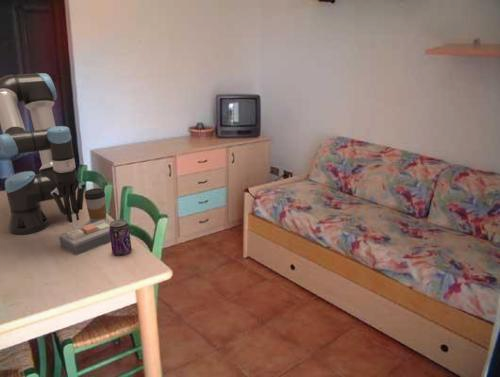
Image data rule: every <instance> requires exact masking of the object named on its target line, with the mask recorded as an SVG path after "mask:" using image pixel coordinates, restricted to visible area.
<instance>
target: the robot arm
mask: <svg viewBox="0 0 500 377" xmlns="http://www.w3.org/2000/svg"><path fill="white" fill-rule="evenodd" d="M57 99H58V96H57V90H56V87H55V85H54V81H53V80H52V77H51V76H50V75H49V74H47V73H42V72H41V73H39V72H35V73H22V74H19V73H18V74H8V75H4V76H2V77H1V78H0V127H1V130H2V133H3V134H0V150H1V154H2V155H4V156H11V155H14V156H17V155H21V154H27V153H35V152H38V153H39V158H40V161H41V166H40V168H39V169H38V170H39V173H37V174H36V173H35V172H34V171H32V170H30V171H29V170H27V171H26V170H25V171H20V172H17V173H15V174H12V175H10V176H9V177H7V178H6V179H5V181H4V188H5V193H6V196H7V202H8V207H9V211H10V215H9V216H10V217H9V220H8V221H9V222H8V229H9V232H10V233H11V234H13V235H28V234H29V235H30V234H34V233H38V232H40V231H43V230H45V229H46V228H47V227H49V224H50V222H49V219H48V217H47V215H46V214H45V212H44V210H43V208H42V204H41V203H43V202H47V201H53V200H54V201H55V204H56V205H57V207H58V210H59V212H60V214H62V215H64V216H65V215H66V220H67V222H68V223H69V224H70V229H71V230H74V231H75V230H78V228H79V226H78V221H79V219H80V218H79V214H80V211H81V210H83V205H84V195H85V189H86V184H85V183H83V182H80V181H79V180H78V174H77V169H76V161H75V156H74V154H75V153H74V147H73V141H72V135H71V130H70V127H68V126H64V125H58V126H56V122H55V119H54V118H55V117H54V112H53V106H54V105H55V101H56V100H57ZM18 104H24V107H25V109H27V110H29V114H30V117H31V121H32V127H33V130H29V131H27V130H26V127H25V124H24V121H23V119H22V115H21V112H20V110H19V106H18ZM76 191H77V192H76ZM62 200H63V201H62Z"/></svg>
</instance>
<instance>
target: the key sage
mask: <svg viewBox="0 0 500 377" xmlns="http://www.w3.org/2000/svg"><path fill="white" fill-rule="evenodd" d="M96 227H97V228H98V229H100V230H102V229H105V228H108V227H110V225H109V224H107V223H103V224H100V225H97V226H96Z"/></svg>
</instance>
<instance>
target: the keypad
mask: <svg viewBox="0 0 500 377" xmlns="http://www.w3.org/2000/svg"><path fill="white" fill-rule="evenodd" d="M103 223H107V224H109V225H110V223H111V221H110V222H109V221H108V220H107V219H106V220H100V221H97V222H94V223H91V222H90V223H89V224H87V225H90V224H93V225H94V226H97V225H100V224H103ZM87 225H83V226H80V227H78V229H79V230H81V227H84V226H87ZM97 229H98V228H97ZM72 230H73V229H71V230H69V231H65V232H63V233H61V234H58V237H59V242H60V246H61V247H63V248H64V249H66V250H67V251H69V252H71V253H72V254H74V255H75V256H77V255H80V254H82V253H85V252H88V251H90V250H93V249H95V248H97V247H101V246H102V245H105V244H108V243H111V239H110V232H109V227H108V228H105V229H102V230H100V229H98V231H97V232H94V233H91V234H88V235H86V234H84V236H83V237H80V238H78V239H75V240H72V239H70V238H68V236H67V232H70V231H72ZM81 231H82V230H81Z"/></svg>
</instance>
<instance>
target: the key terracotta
mask: <svg viewBox="0 0 500 377" xmlns="http://www.w3.org/2000/svg"><path fill="white" fill-rule="evenodd" d="M89 224H90V225H89ZM89 224H87V226H86V225H83V226H84V227H83V226H80V227H81V230H82V231H83V232H84V234H86V235H88V234H91V233H94V232H97V231H98V229H97V227H96V226H94V225H93V224H91V223H89Z"/></svg>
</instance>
